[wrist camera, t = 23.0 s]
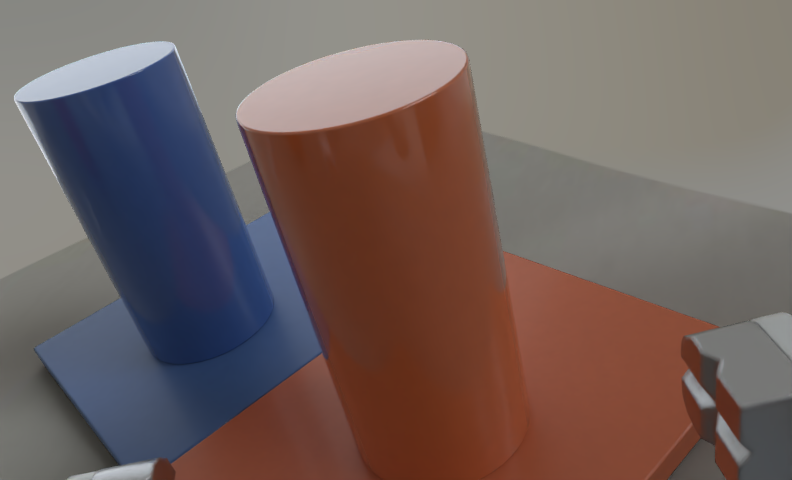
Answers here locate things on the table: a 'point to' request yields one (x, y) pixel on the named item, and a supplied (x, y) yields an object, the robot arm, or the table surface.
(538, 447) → the board
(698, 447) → the table surface
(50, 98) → the blue canister
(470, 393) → the terracotta canister
